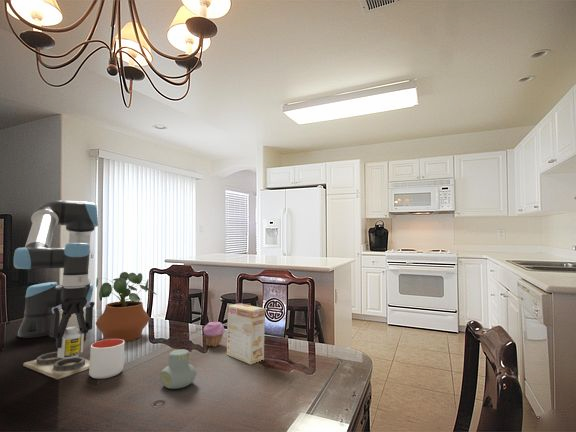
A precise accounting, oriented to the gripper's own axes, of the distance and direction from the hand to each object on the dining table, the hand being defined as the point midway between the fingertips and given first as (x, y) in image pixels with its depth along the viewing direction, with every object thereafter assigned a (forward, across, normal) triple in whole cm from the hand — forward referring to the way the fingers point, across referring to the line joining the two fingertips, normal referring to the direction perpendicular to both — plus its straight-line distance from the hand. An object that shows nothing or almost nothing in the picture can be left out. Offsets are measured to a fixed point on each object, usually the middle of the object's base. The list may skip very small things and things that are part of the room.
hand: (70, 354), depth 111 cm
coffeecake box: (+5, +40, -45) cm, 61 cm away
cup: (+5, +4, -14) cm, 16 cm away
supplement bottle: (+1, 0, 0) cm, 1 cm away
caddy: (+5, 0, +6) cm, 7 cm away
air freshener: (+5, +10, -42) cm, 43 cm away
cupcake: (+5, +45, -26) cm, 52 cm away
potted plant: (+5, +35, +18) cm, 40 cm away
